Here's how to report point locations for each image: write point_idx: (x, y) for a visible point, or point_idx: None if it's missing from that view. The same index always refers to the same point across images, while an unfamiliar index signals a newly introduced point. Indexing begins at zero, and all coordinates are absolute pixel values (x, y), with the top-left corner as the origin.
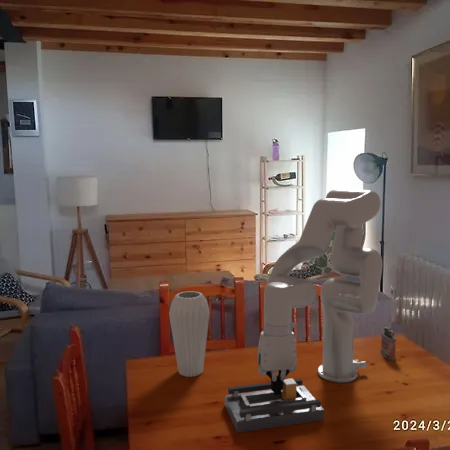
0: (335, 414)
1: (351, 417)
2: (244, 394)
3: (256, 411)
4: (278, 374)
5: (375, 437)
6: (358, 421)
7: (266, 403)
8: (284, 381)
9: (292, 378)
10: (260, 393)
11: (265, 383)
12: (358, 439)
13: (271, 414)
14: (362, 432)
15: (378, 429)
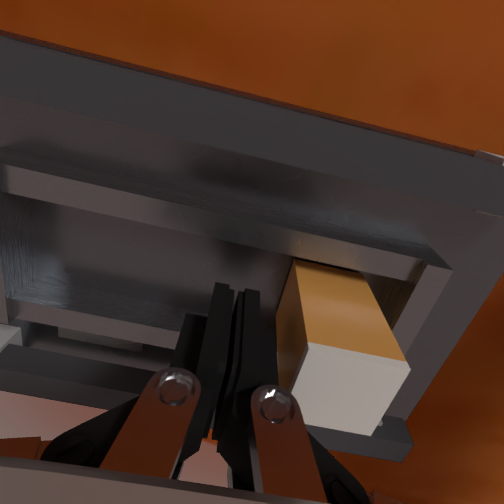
0: (464, 372)
1: (494, 409)
2: (7, 166)
3: (29, 392)
4: (245, 433)
5: (442, 495)
6: (488, 433)
7: (127, 334)
8: (302, 381)
9: (408, 373)
10: (140, 214)
11: (240, 115)
12: (388, 483)
13: (143, 358)
14: (434, 470)
15: (493, 479)
